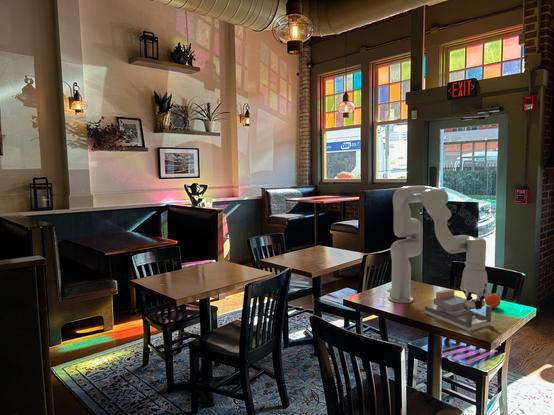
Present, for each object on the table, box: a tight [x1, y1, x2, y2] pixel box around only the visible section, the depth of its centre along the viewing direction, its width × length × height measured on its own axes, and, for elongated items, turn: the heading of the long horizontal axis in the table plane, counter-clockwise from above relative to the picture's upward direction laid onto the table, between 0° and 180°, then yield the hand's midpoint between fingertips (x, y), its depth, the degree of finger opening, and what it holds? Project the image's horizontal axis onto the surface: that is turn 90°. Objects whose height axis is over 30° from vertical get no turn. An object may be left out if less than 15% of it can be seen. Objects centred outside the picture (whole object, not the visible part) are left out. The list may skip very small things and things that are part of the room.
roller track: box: [424, 305, 493, 332], centre depth 188 cm, size 24×15×8 cm, turn 28°
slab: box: [432, 288, 466, 311], centre depth 190 cm, size 10×13×6 cm
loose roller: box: [463, 297, 486, 311], centre depth 180 cm, size 4×9×4 cm, turn 117°
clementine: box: [484, 293, 501, 309], centre depth 203 cm, size 8×7×7 cm
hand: (473, 307), depth 180 cm, fingers closed on loose roller, 4 cm apart
